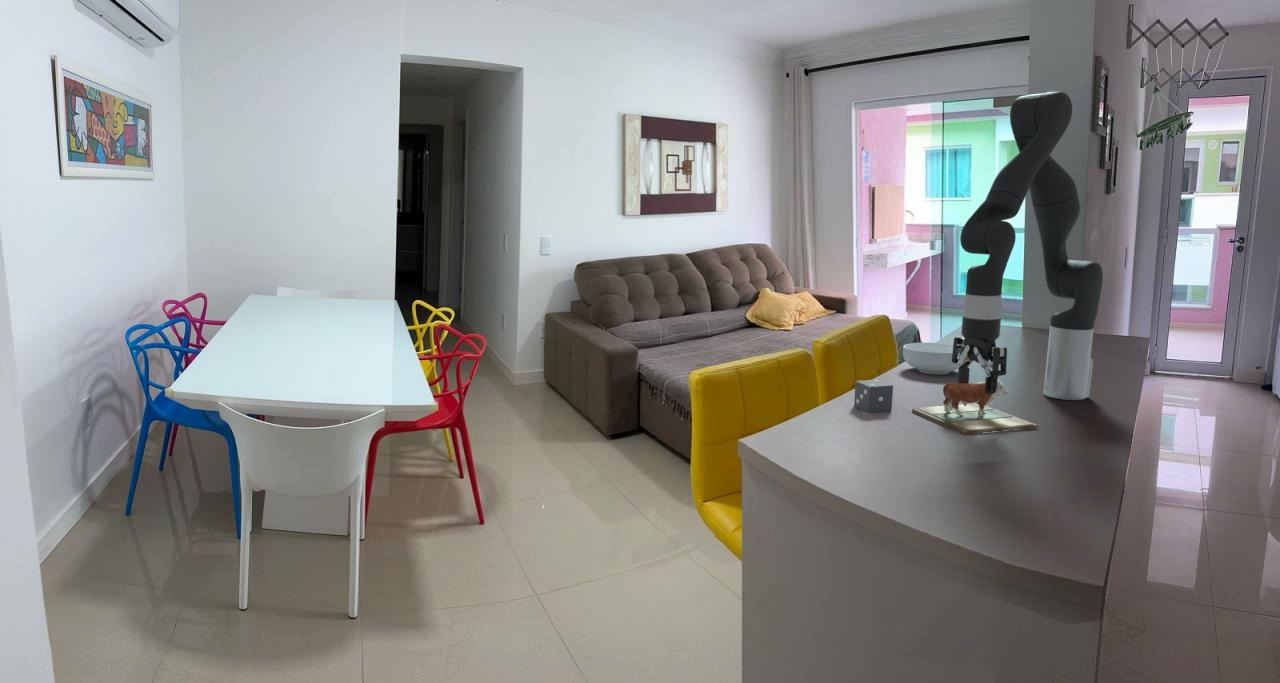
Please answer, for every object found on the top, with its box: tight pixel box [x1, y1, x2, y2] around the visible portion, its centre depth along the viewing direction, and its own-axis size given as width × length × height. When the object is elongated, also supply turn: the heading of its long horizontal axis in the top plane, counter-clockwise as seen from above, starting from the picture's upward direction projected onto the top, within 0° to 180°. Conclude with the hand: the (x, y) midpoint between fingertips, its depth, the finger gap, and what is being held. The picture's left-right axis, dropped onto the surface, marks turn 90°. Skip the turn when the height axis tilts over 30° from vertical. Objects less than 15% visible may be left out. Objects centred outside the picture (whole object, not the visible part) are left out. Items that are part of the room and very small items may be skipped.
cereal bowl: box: [902, 342, 960, 376], centre depth 216 cm, size 17×17×7 cm
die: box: [853, 379, 894, 414], centre depth 177 cm, size 6×6×6 cm
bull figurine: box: [942, 379, 1009, 417], centre depth 169 cm, size 4×13×8 cm, turn 82°
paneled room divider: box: [911, 403, 1039, 436], centre depth 169 cm, size 18×18×1 cm
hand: (976, 388), depth 168 cm, fingers open, 8 cm apart
